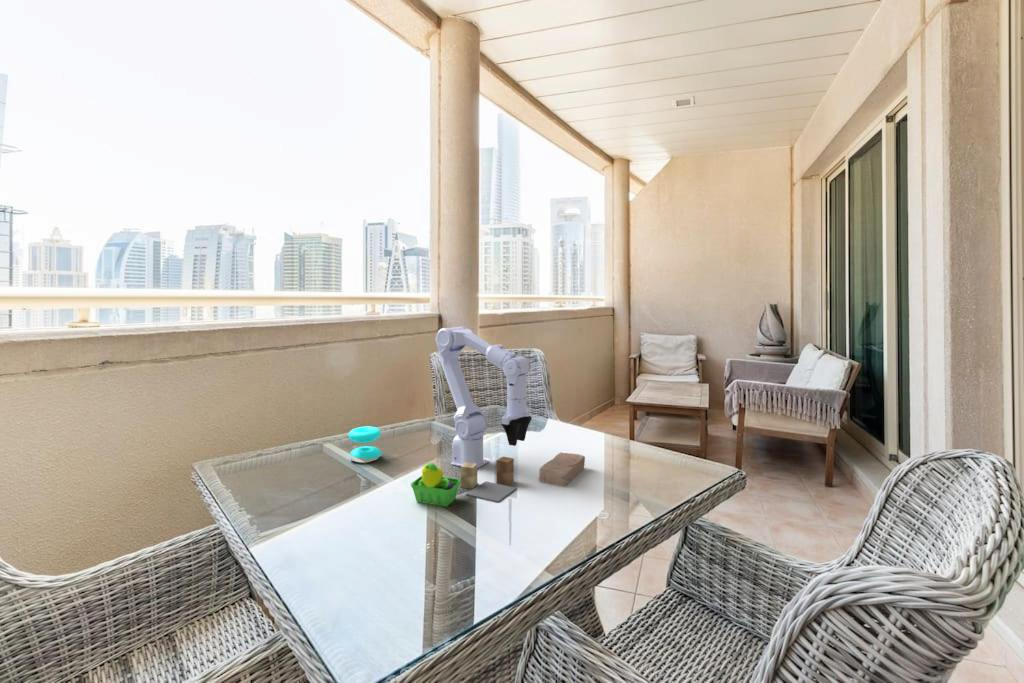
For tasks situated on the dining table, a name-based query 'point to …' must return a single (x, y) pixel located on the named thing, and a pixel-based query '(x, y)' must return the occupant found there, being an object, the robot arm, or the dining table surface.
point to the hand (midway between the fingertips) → (516, 442)
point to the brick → (561, 469)
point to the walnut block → (505, 471)
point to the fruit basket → (435, 486)
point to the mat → (491, 491)
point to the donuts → (365, 436)
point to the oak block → (468, 475)
